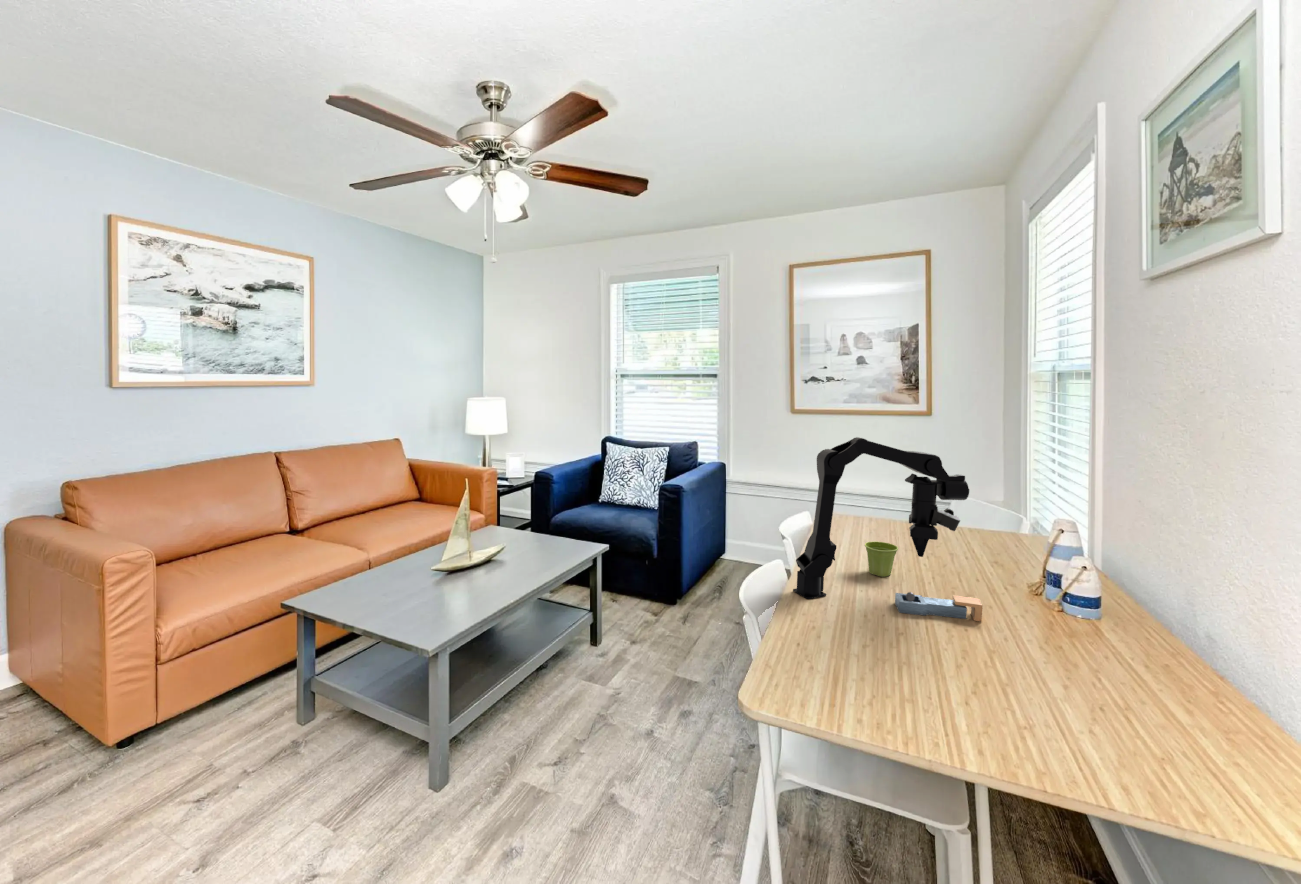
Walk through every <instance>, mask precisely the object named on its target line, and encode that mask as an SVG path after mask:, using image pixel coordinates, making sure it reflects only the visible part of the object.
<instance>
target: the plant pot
mask: <svg viewBox="0 0 1301 884" xmlns="http://www.w3.org/2000/svg"><path fill="white" fill-rule="evenodd" d="M864 547H865V548H866V554H867V564H868V572H869V573H870V574H871V575H875V576H877V577H884V578H885V577H889V576H890V575H892V569H893V566H894V561H895V557H896V554H897V551H899V547H898V545H896V544H893V543H889V542H883V541H867V542H865V543H864Z"/></svg>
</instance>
